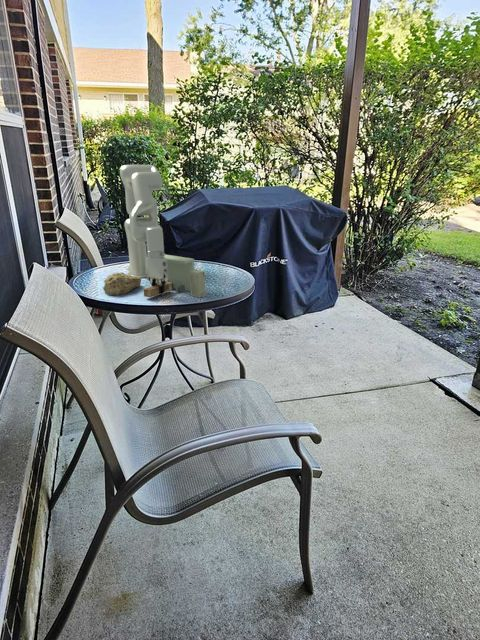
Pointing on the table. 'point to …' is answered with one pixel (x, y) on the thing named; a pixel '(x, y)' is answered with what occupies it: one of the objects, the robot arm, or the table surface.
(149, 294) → the walnut batten
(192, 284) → the skincare box
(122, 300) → the table surface
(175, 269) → the shelter
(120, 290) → the rock
